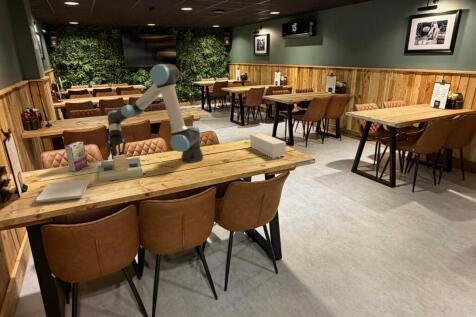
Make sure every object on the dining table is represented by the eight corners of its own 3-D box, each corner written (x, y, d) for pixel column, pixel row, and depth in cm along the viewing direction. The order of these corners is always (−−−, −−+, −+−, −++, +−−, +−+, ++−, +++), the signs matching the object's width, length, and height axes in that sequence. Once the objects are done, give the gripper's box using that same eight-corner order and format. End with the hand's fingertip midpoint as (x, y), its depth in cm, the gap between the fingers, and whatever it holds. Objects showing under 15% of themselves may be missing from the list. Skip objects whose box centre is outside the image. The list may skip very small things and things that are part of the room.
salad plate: (84, 200, 148) (83, 194, 147) (35, 206, 143) (34, 199, 142) (91, 184, 168) (90, 178, 166) (49, 188, 162) (47, 183, 161)
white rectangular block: (250, 147, 235) (250, 134, 232) (261, 145, 240) (261, 132, 237) (272, 158, 208) (273, 144, 205) (285, 156, 213) (286, 142, 210)
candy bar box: (81, 165, 197) (77, 141, 192) (88, 165, 196) (83, 141, 191) (69, 171, 187) (64, 146, 182) (76, 171, 186) (71, 146, 181)
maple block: (114, 168, 184) (112, 156, 181) (126, 166, 186) (124, 154, 184) (115, 172, 178) (113, 159, 175) (127, 170, 181) (126, 157, 178)
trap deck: (101, 165, 197) (101, 161, 196) (139, 160, 205) (139, 157, 204) (99, 181, 170) (98, 177, 169) (143, 175, 178) (142, 171, 178)
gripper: (126, 134, 200) (130, 165, 191) (105, 136, 196) (108, 168, 186) (125, 128, 194) (129, 160, 184) (103, 130, 189) (106, 162, 180)
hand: (118, 164), depth 185 cm, fingers closed
